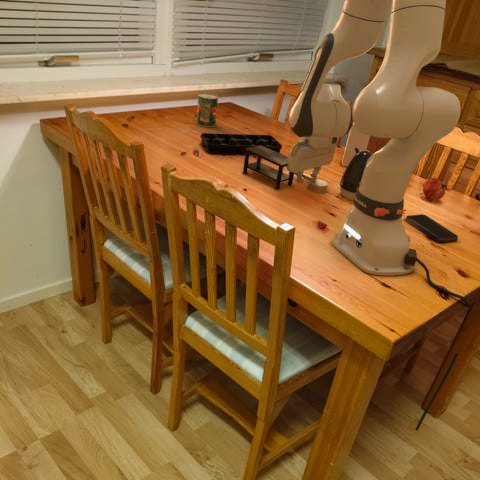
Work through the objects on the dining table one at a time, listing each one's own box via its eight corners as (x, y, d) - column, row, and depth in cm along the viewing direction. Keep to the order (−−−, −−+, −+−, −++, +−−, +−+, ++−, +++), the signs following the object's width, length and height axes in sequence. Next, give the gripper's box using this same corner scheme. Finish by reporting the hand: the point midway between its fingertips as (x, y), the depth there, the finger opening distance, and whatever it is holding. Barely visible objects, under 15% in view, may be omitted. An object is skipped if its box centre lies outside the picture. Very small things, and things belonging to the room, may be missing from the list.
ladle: (329, 191, 156) (332, 182, 154) (318, 194, 152) (320, 185, 150) (294, 175, 164) (296, 166, 162) (283, 178, 160) (284, 169, 158)
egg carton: (286, 155, 179) (288, 145, 177) (215, 160, 165) (216, 149, 163) (261, 140, 191) (263, 130, 188) (193, 143, 177) (194, 132, 174)
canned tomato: (194, 121, 199) (196, 92, 193) (212, 122, 202) (215, 93, 195) (198, 127, 194) (200, 97, 187) (217, 127, 196) (220, 99, 189)
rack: (292, 185, 156) (297, 161, 151) (277, 190, 151) (282, 165, 146) (257, 168, 164) (260, 145, 159) (241, 172, 159) (244, 148, 154)
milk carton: (360, 169, 177) (375, 115, 166) (341, 166, 178) (355, 112, 166) (360, 163, 183) (375, 111, 171) (342, 160, 183) (355, 107, 172)
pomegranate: (413, 203, 163) (437, 196, 154) (412, 182, 163) (436, 173, 154) (429, 204, 166) (453, 197, 157) (428, 183, 166) (452, 175, 157)
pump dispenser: (357, 191, 159) (370, 144, 150) (374, 204, 152) (389, 156, 143) (330, 191, 156) (342, 144, 147) (347, 205, 148) (361, 156, 139)
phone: (439, 239, 134) (405, 215, 144) (438, 243, 135) (403, 219, 145) (460, 237, 137) (424, 214, 147) (458, 240, 138) (423, 217, 148)
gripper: (302, 145, 141) (293, 190, 149) (342, 137, 154) (331, 178, 162) (286, 138, 144) (278, 183, 153) (326, 131, 157) (317, 172, 165)
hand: (306, 180), depth 157 cm, fingers open, 6 cm apart
